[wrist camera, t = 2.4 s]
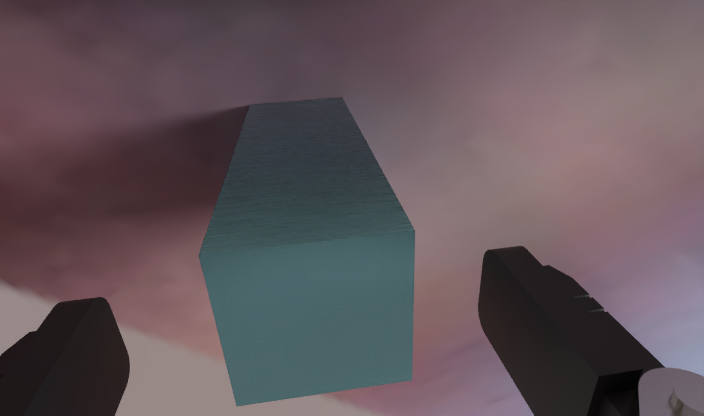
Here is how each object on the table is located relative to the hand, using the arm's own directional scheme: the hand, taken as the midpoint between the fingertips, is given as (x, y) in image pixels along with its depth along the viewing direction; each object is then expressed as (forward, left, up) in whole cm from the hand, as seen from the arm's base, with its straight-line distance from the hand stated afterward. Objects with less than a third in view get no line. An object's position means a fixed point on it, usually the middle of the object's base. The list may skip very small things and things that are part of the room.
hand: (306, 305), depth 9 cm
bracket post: (0, 0, -11) cm, 11 cm away
